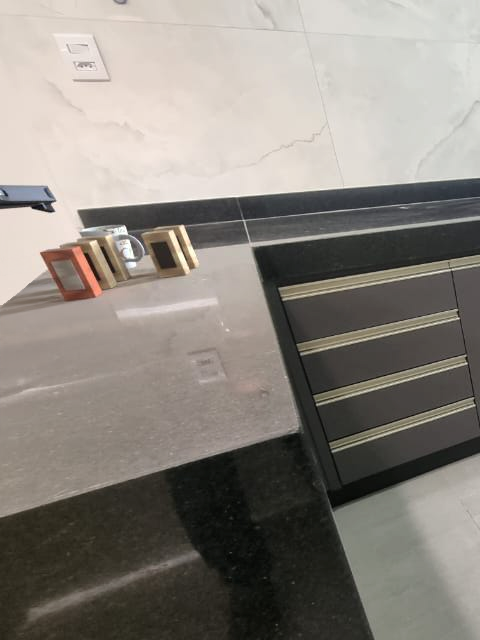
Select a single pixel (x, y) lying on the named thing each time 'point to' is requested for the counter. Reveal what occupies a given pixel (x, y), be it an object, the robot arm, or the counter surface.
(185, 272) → the wooden picture frame
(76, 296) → the orange picture frame
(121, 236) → the mug
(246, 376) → the counter surface
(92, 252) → the tan photo frame
